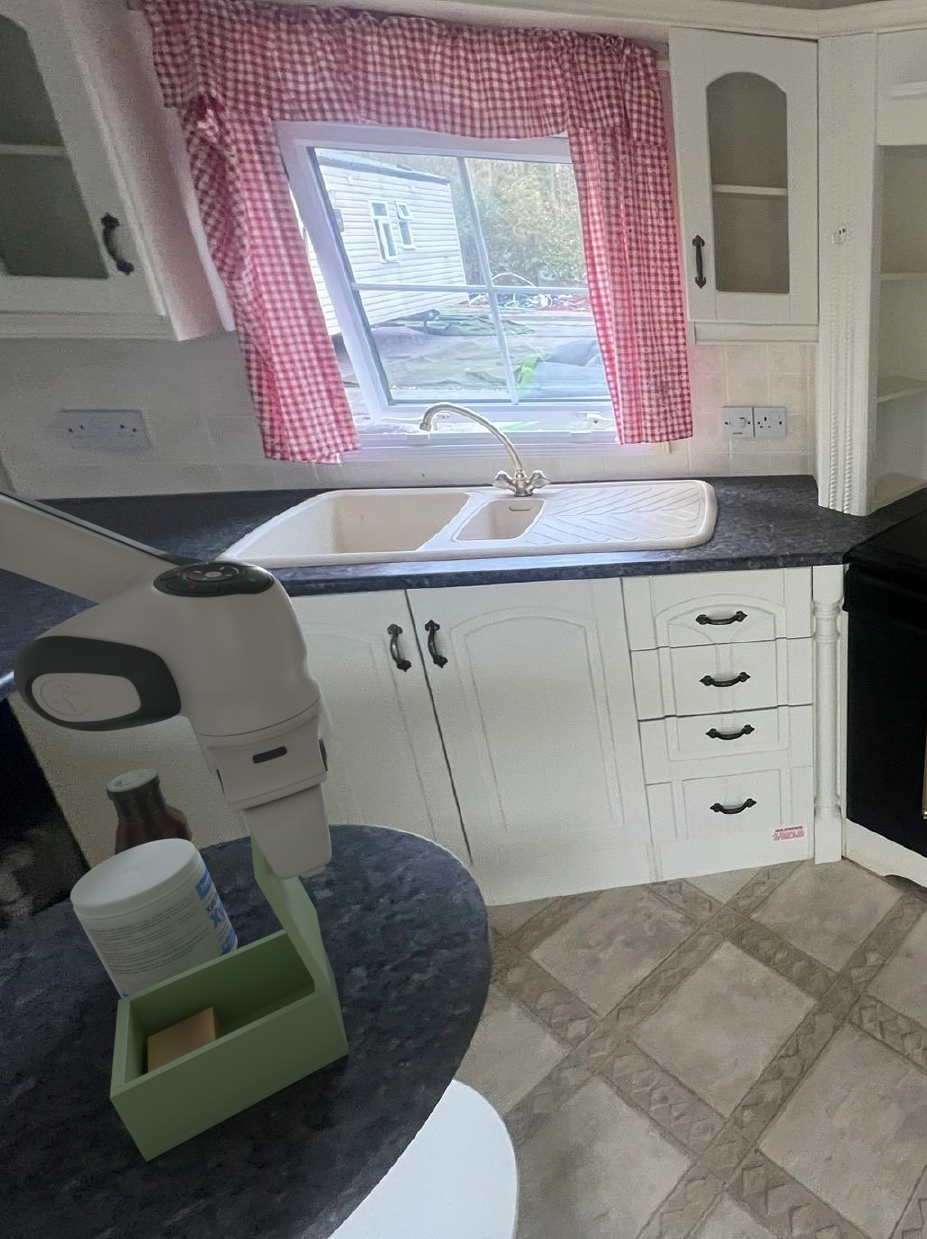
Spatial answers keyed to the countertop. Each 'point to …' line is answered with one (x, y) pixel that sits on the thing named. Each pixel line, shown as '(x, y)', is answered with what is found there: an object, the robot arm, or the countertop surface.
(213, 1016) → the block
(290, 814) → the robot arm
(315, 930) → the lid
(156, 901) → the supplement tub
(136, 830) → the sauce bottle
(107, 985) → the countertop surface
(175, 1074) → the chest
